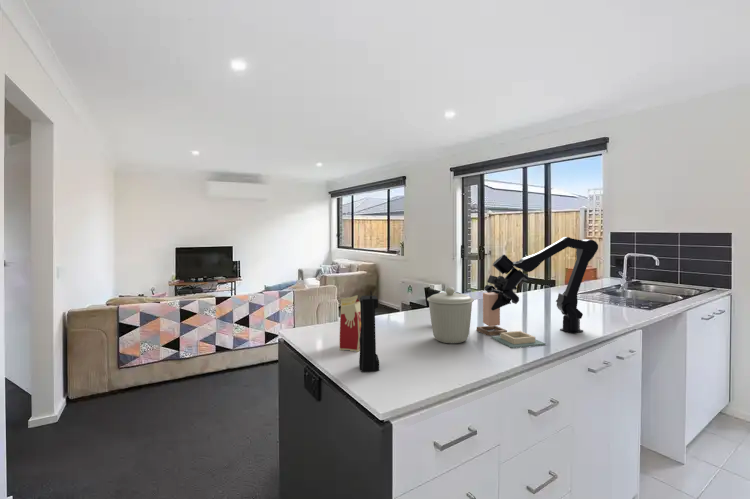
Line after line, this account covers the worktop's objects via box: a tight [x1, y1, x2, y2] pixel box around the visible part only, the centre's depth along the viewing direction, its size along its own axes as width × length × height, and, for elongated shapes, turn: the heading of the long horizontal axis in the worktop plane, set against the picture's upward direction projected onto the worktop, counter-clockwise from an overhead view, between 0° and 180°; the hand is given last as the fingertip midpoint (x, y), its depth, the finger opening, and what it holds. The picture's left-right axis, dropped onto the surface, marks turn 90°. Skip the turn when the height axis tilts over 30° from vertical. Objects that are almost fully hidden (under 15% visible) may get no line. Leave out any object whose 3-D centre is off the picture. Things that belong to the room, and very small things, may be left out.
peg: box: [482, 292, 501, 326], centre depth 153 cm, size 5×5×13 cm
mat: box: [490, 330, 546, 349], centre depth 140 cm, size 14×14×3 cm
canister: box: [426, 286, 475, 344], centre depth 143 cm, size 18×18×21 cm
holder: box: [476, 325, 508, 337], centre depth 154 cm, size 9×9×2 cm
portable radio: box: [358, 291, 380, 373], centre depth 115 cm, size 8×6×25 cm
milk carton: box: [339, 294, 361, 353], centre depth 136 cm, size 9×9×20 cm
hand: (488, 308), depth 153 cm, fingers closed on peg, 5 cm apart
